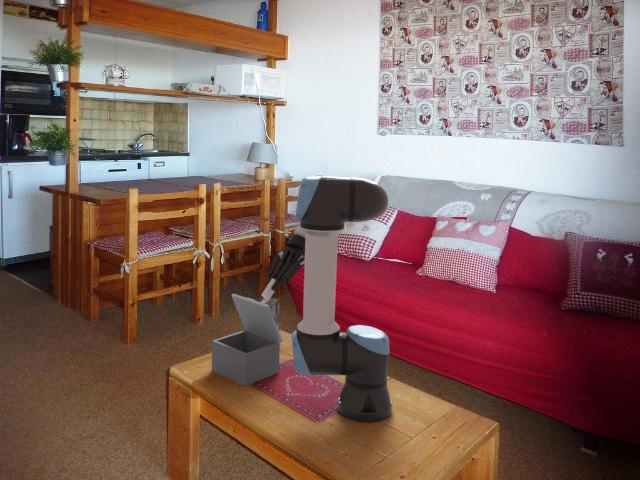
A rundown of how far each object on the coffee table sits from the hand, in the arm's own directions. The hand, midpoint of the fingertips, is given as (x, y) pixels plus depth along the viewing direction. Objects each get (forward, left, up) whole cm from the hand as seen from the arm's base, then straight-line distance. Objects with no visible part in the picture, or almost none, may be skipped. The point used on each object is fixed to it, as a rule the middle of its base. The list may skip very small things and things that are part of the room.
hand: (265, 297), depth 195 cm
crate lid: (0, +4, -6) cm, 7 cm away
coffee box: (+12, -13, -23) cm, 29 cm away
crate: (0, +8, -23) cm, 24 cm away
